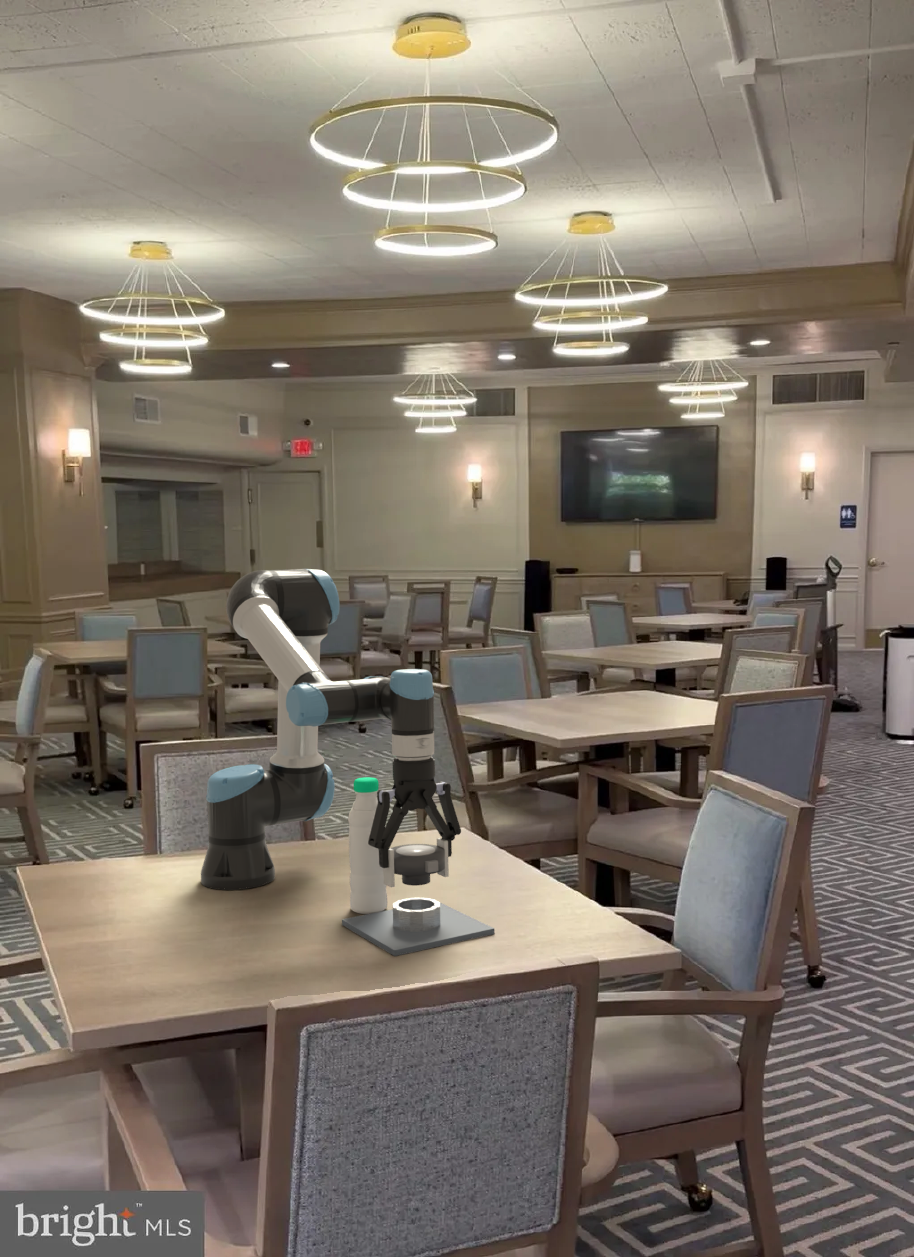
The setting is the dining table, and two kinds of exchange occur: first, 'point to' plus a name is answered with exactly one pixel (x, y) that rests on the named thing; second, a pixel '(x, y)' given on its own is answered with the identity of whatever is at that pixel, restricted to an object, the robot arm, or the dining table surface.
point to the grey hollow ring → (416, 914)
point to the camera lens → (418, 862)
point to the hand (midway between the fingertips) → (416, 880)
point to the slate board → (403, 942)
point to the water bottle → (365, 851)
